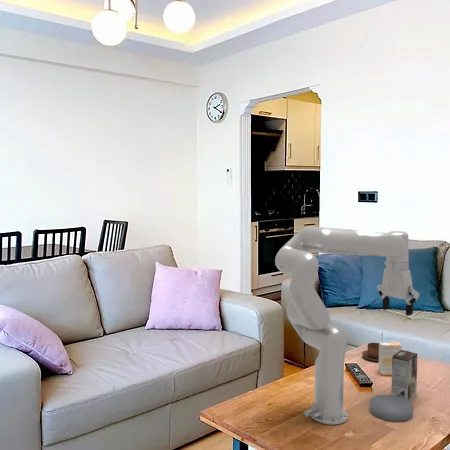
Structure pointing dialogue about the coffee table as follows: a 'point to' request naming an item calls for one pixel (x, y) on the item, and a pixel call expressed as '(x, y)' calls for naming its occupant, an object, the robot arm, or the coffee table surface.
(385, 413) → the podium
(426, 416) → the coffee table surface
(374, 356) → the cup and saucer
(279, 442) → the coffee table surface
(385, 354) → the supplement box
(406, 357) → the coffee box
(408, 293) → the robot arm
